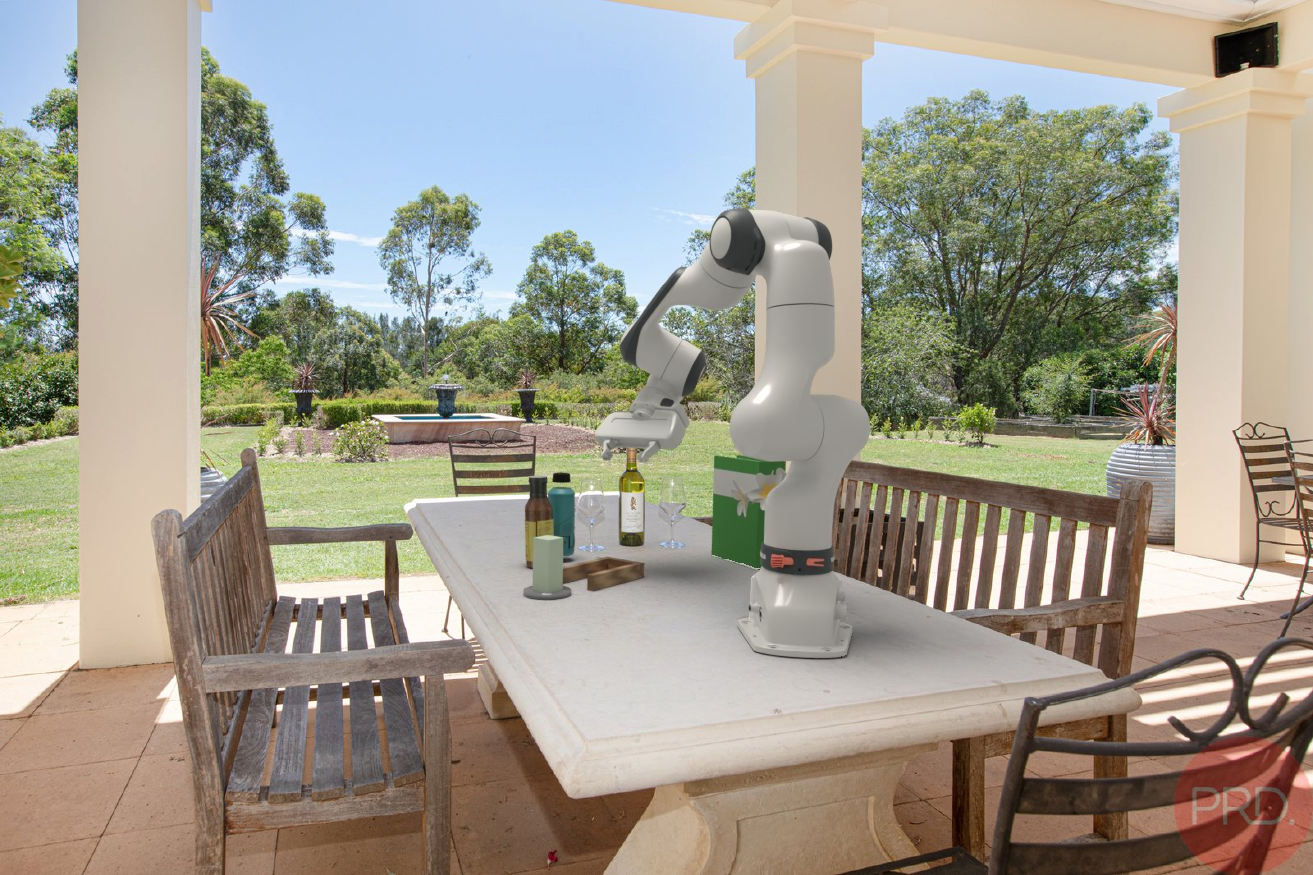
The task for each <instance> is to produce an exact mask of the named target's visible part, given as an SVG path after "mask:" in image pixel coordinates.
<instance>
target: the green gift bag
mask: <svg viewBox="0 0 1313 875" xmlns="http://www.w3.org/2000/svg"><path fill="white" fill-rule="evenodd" d="M778 468H782V469H783V470H784V471H785V472H786V470H787V461H775V462H769V461H764V460H759V459H754V458H750V457H747V456H744V455H742V454H736V457H730V456H723V455H714V456H713V482H712V483H713V486H712V487H713V490H712V520H711V521H712V526H711V527H712V528H711V530H712V532H711V556H712V555H715V556H718V557H721V558H723V559H729V560H732V561H735V562H738V563H744V564H746V565H749V566H752V567H754V568H761V567H762V566H761V564H760V558H761V556H760V550H761V544H762V543H763V542H764V522H765V510H762V509H761V508H760V502H761V500H762V499H761V500H759V501H757V502H755V503H753V504H752V502H753V501H754V500H755V499H750V500H749V503H748V507H747V513H746V518H745V516H744V513H743V511H742V513H741V515H740V516H739V515H738V513H737V506H738V503H739V502H740V501H741V500H736V499H734V498H733V496H732V495H731V490H732V489H734V490H737V489H736V487H735V485H734V483H733V479H734V480H735V481H736V482H737V483H738V484H739V486H740V487H741V488H742V489H743V490H744V491H745V492H747V493H748V492H749V491H751V490H753V489H761V488H760V487H759V485H758V484H757V481H756V475H757V474H758V473H762V474H764V475H765V476H766V477H767V479H768V481H769V478H770V475H771V473H772V471H773V470H774V472H773V476H774V475H776V470H777V469H778ZM786 473H787V472H786ZM738 491H739V490H738ZM743 510H744V509H743ZM723 559H722V560H723Z"/></svg>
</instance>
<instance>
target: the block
mask: <svg viewBox="0 0 1313 875" xmlns="http://www.w3.org/2000/svg"><path fill="white" fill-rule="evenodd" d="M563 567H564V556H563V537H557V536H551V535H545V536H540V537H534V538H533V568H532V586H533V589H532V590H534V591H539V592H544V593H552V592H556V591H559V590H563V586H564V584H563Z"/></svg>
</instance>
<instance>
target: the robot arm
mask: <svg viewBox="0 0 1313 875" xmlns="http://www.w3.org/2000/svg"><path fill="white" fill-rule="evenodd" d="M832 254H833V241H832V235H831V232H830V230H829V228H828V227H827V226H826V224H824V223H822V222H821V221H819V220H817V219H814V218H812V217H806V216H805V217H800V216H797V215H793V214H789V213H784V212H780V211H777V210H769V209H748V208H745V207H738V208H730V209H726V210H724V211H722V212H721V213H720V214H718V216H717V218H716V219H715V221H713V224H712V227H711V230H710V234H709V239H708V241H707V244H706V245H705V246H704V249H703V250H702V253H701V254H700V257H699V258H698V260H697V261H696V262H695V263H693V264H692V265H691V264H690V265H688V266H679V267H678V268H677V269H675V270H674V271H673V272H672V273H671V274H670V276H669V277H668V278H667V280H665V282H664V283H663V284H662V285H661V287H660V288H659V289H658V291H657V292H656V293H655V294H654V296H653V297H652V299H651V300H650V301H649V303H648V304H647V305H646V306H645V308H644V310H643V311H642V313H641V314H640V315H639V317H638V318H637V319H636V320H634V321H633V322H632V323H631V324H630V325H629V326H628V327H627V329H625V331H624V333H623V335H622V337H621V339H620V341H619V342H620V343H619V346H618V347H619V352H620V355H621V357H622V359H623V360H624V363H627V364H628V365H631V366H634V367H636V368H638V369H641V370H642V371H645V372H647V373H648V374H649V376H648V378H647V380H646V384H645V385H644V386H643V387H642V388H641V389H640V390H639V392H638V394H637V395H636V397H635V399H634V400H633V402H631V405H630V407H629V410H618V411H617V410H616V411H615V412H612V413H610V414H609V415H607V416H606V417H605V419H603V421H602V422H601V423H600V424H599V426H598V427H597V428H596V430H595V432H594V439H596V441H597V443H598V445H600V447H603V451H602V452H601V453H600V457H601V459H602V460H603V461H606V462H607V461H611V459H612V458H613V457H614V455H613V453H612V452H611V451H612V450H614V449H615V448H625V449H626V448H627V449H628V448H629V449H645V450H640V451H639V453H638V455H637V457H636V458H637V460H638V462H639V463H644V464H646V463H648V461H649V459H650V458H652V457H653V456H655V455H656V454H657V453H659V451H660V450H668V451H671V450H672V451H673V450H675V449H676V448H678V447H679V446H680V444H681V443H682V441H683V439H684V438H685V435H686V431H687V430H686V429H687V428H688V427H689V426H690V419H689V417H688V415H687V413H686V410H685V409H684V408H683V406H682V404H681V401H683V400H684V397H687V396H689V395H692V394H693V393H694V391H695V390H696V388H697V385H698V384H699V382H700V380H702V378H703V376H704V374H705V373H706V370H707V359H706V355H705V353H704V351H703V350H701V349H700V348H699V347H697V346H695V345H694V344H693V343H691V342H688V341H687V340H685V339H682V338H681V337H679V336H678V335H676V334H674V333H672V332H670V331H668V330H667V329H665V328H663V326H661V324H659V323H660V321H661V320H662V319H663V318H664V316H665V315H666V314H667V312H668V311H669V310H670V309H671V308H672V307H675V306H686V307H687V306H688V307H694V308H699V309H703V310H706V311H723V310H727V309H731V308H733V307H734V306H736V305H738V304H739V303H740V302H741V301H742V300H743V298H744V297H745V296H746V294H747V293H748V292H749V290H750V289H751V287H752V285H753V283H754V282H755V279H756V277H757V276H761V277H762V278H763V279H764V280H765V283H766V284H765V285H766V303H765V304H766V308H765V309H766V311H765V312H766V314H765V316H766V317H765V318H766V319H765V320H766V321H765V322H766V326H765V327H766V328H765V330H766V332H765V351H764V352H765V353H764V357H763V358H764V359H763V363H762V367H761V370H760V372H759V375H758V378H757V380H756V382H755V384H754V385H753V387H752V389H751V390H750V391H749V392H748V393H747V395H746V396H744V397H743V398H742V399H741V400H740V401H739V402H738V403H737V404H736V406H735V407H734V409H733V411H732V414H731V416H730V420H729V435H730V438H731V442H732V443H733V445H734V447H735V449H736V450H737V451H738V453H740V455H743V456H747V457H750V458H754V459H759V460H764V461H769V462H775V461H786V462H790V464H789V467H788V471H787V472H786V473H787V474H786V476H785V478H784V479H783V481H782V482H781V483H780V484H779V485H777V486H776V487H774V488H773V489H772V490H771V491H770V492H769V494H768V495H767V498H766V501H765V522H764V542H763V543H762V544H761V550H760V556H761V558H760V564H761V566H762V567H761V568H760V570H757V572H756V573H754V574H753V575H752V576H751V578H750V594H749V605H748V611H749V613H748V614H749V615H748V617H742V618H739V619H737V625H736V626H737V628H738V630H740V632H741V633H742V635H743V637H744V638H745V639H746V641H747V643H748V645H749V646H750V647H751V649H752V650H753V651H754V652H757V653H761V654H767V655H773V656H780V657H791V658H804V659H805V658H806V659H807V658H810V659H811V658H812V659H827V658H828V659H830V658H831V659H833V658H841V656H842V657H846V656H847V655H848V651H849V647H850V645H849V644H850V643H851V640H852V637H853V634H852V633H854V631H853V630H854V628H853V625H852V624H850V623H845V622H841V620H842V621H845V620H848V605H846V604H841V602H844V601H845V596H846V595H845V592H843V591H842V580H841V579H840V578H839V577H838V576H836V575H835V573H834V569H835V559H836V558H835V557H836V556H835V547H834V546H833V545H832V544H833V542H832V540H833V525H834V524H833V523H834V512H835V511H834V510H835V501H836V498H837V497H836V496H837V492H838V489H839V486H840V484H841V481H842V479H843V477H844V475H845V472H846V469H847V468H848V466H849V465H850V463H851V462H852V461H853V459H854V458H855V457H856V456H857V455H858V454H859V453H861V452H862V450H864V448H865V447H866V445H867V443H868V441H869V438H870V435H871V422H870V417H869V414H868V412H867V410H866V408H865V407H864V406H863V405H862V404H861V403H860V402H859V401H856V400H854V399H851V398H847V397H844V396H840V395H836V394H822V393H821V394H818V393H816V394H811V389H812V385H813V381H814V378H815V376H816V374H817V373H818V371H819V370H820V369H822V368H823V367H825V366H826V365H828V364H829V362H830V361H831V360H832V359H833V357H834V354H835V351H836V332H835V331H836V329H835V328H836V327H835V326H836V325H835V324H836V322H835V321H836V320H835V319H836V317H835V316H836V315H835V314H836V312H835V292H834V291H835V290H834V280H833V273H832V268H831V263H830V260H831V257H832ZM851 636H852V637H851ZM845 655H846V656H845Z"/></svg>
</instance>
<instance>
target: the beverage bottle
mask: <svg viewBox="0 0 1313 875" xmlns="http://www.w3.org/2000/svg"><path fill="white" fill-rule="evenodd" d="M551 481H552V483H558V484H563V483H565V484H566V483H567V484H568V483H571V482H572V481H571V473H569V472H564V471H563V472H554V473H552V479H551ZM575 495H576V492H575V490H574V489H572V488H571V487H569V486H553V487H551V488H550V489H549V490H547V497H548V499H549V501H550V504H551V505H552V510H553V525H554V536H557V537H563V557H569V556H573V555H574V554H575V551H576V548H575V547H576V546H575V545H576V536H575V535H576V533H575V531H576V527H575V523H576V522H575V521H576V519H575V518H576V496H575Z"/></svg>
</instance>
